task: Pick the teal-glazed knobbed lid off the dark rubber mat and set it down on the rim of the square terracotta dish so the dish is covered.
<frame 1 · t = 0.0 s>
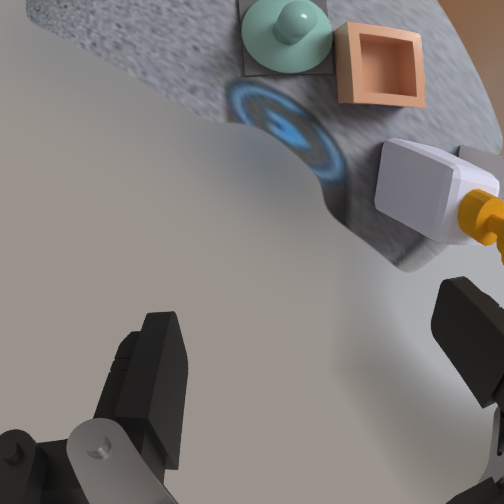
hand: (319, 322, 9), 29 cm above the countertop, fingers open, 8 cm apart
lid: (286, 33, 29), resting on mat
soap bottle: (418, 178, 37), on the countertop
mat: (286, 34, 29), on the countertop
milk carton: (470, 173, 37), on the countertop
dish: (371, 69, 31), on the countertop
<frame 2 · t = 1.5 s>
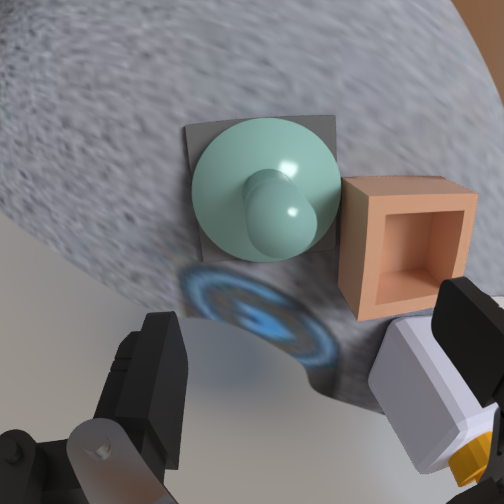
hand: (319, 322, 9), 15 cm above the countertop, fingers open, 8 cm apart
lid: (266, 190, 22), resting on mat
soap bottle: (425, 343, 30), on the countertop
mat: (266, 188, 22), on the countertop
dish: (391, 230, 24), on the countertop
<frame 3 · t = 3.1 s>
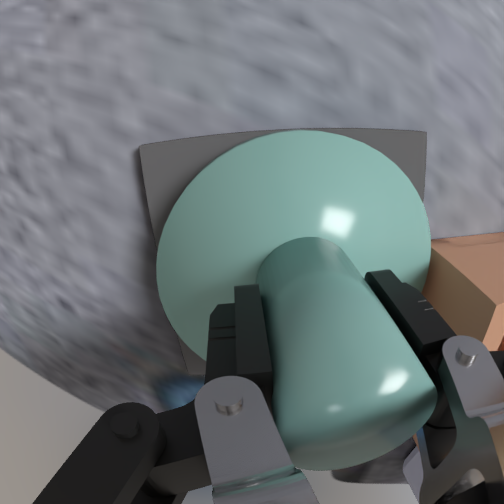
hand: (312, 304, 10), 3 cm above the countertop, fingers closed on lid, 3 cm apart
lid: (299, 269, 12), resting on mat, touching gripper
soap bottle: (472, 418, 20), on the countertop
mat: (297, 264, 12), on the countertop
dish: (472, 310, 14), on the countertop
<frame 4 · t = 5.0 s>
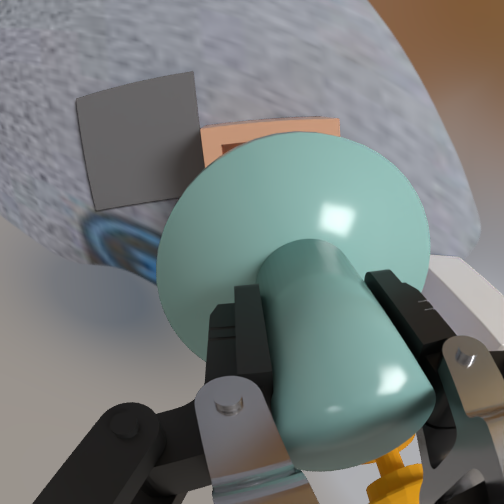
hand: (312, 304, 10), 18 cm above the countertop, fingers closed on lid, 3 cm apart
lid: (299, 271, 12), point 15 cm above the countertop, touching gripper
soap bottle: (344, 303, 32), on the countertop
mat: (139, 142, 23), on the countertop
milk carton: (425, 281, 32), on the countertop
dish: (268, 173, 25), on the countertop
when the fingers open (8 cm above the countertop, at t = 7.0 s): lid stays where it is, resting on dish.
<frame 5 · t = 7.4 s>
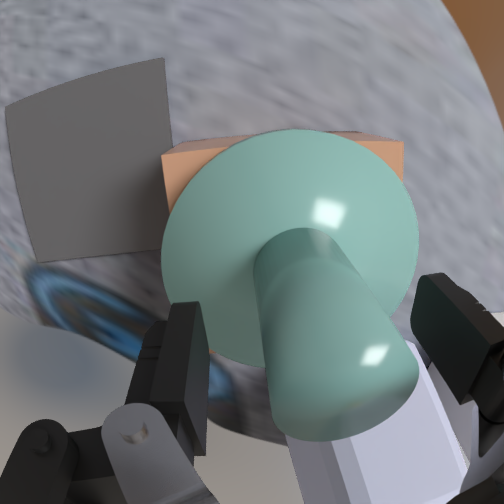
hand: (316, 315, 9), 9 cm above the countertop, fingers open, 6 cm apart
lid: (294, 259, 12), point 5 cm above the countertop, touching dish
soap bottle: (366, 375, 23), on the countertop
mat: (86, 168, 15), on the countertop
milk carton: (463, 342, 23), on the countertop
dish: (277, 217, 17), on the countertop
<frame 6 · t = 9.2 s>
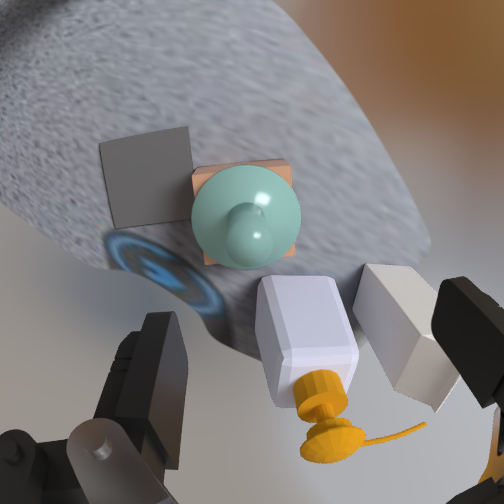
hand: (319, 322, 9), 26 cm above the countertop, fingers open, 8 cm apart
lid: (246, 217, 30), point 5 cm above the countertop, touching dish
soap bottle: (309, 303, 40), on the countertop
mat: (148, 178, 33), on the countertop
milk carton: (380, 287, 40), on the countertop
dish: (244, 203, 34), on the countertop
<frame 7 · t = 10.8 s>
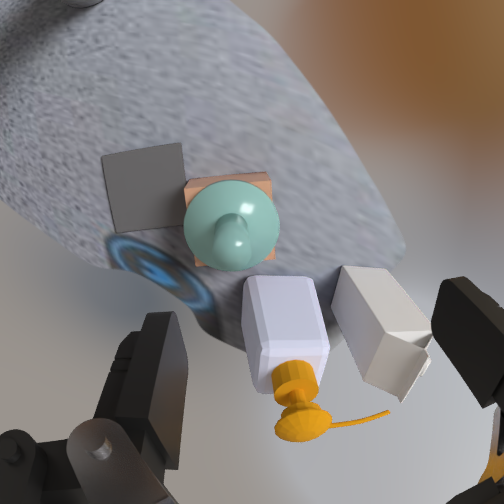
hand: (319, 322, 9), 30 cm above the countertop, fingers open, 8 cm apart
lid: (231, 225, 34), point 5 cm above the countertop, touching dish
soap bottle: (290, 301, 45), on the countertop
mat: (146, 188, 36), on the countertop
milk carton: (357, 287, 45), on the countertop
dish: (231, 211, 38), on the countertop
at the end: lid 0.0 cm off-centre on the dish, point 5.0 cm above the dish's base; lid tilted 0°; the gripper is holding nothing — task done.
